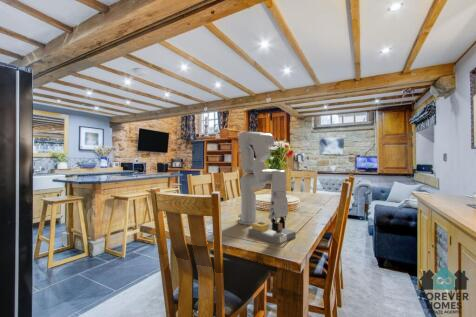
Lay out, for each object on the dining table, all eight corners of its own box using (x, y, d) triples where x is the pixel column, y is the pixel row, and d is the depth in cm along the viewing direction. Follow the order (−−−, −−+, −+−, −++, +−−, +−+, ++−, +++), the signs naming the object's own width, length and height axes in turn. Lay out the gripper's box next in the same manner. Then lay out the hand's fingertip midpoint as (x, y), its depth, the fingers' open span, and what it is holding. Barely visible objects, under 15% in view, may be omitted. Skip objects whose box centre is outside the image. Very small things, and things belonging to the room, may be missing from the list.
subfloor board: (248, 234, 128) (248, 228, 128) (267, 228, 138) (267, 223, 138) (277, 244, 113) (277, 238, 113) (295, 237, 124) (295, 231, 124)
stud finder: (252, 228, 128) (252, 222, 128) (259, 226, 132) (259, 221, 132) (261, 231, 123) (261, 225, 123) (268, 229, 127) (268, 223, 127)
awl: (272, 240, 119) (273, 222, 119) (277, 238, 121) (277, 221, 121) (279, 242, 116) (279, 224, 116) (283, 240, 118) (284, 223, 118)
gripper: (273, 197, 110) (273, 234, 110) (294, 193, 121) (294, 227, 121) (262, 195, 115) (262, 231, 115) (282, 191, 127) (282, 224, 127)
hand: (278, 228), depth 118 cm, fingers open, 5 cm apart
